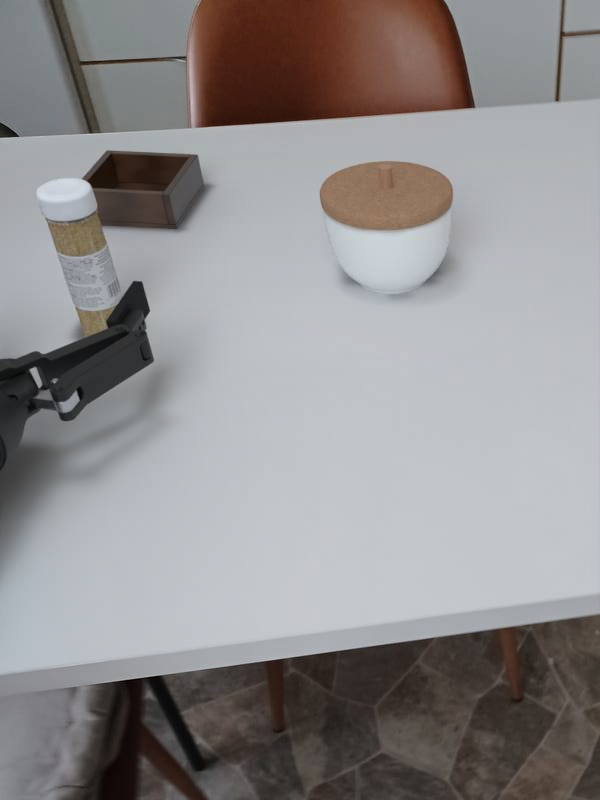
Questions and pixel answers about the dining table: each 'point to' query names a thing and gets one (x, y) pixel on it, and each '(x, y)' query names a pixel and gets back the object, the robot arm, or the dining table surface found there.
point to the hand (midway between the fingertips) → (64, 291)
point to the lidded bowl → (388, 223)
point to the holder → (145, 188)
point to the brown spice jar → (81, 250)
